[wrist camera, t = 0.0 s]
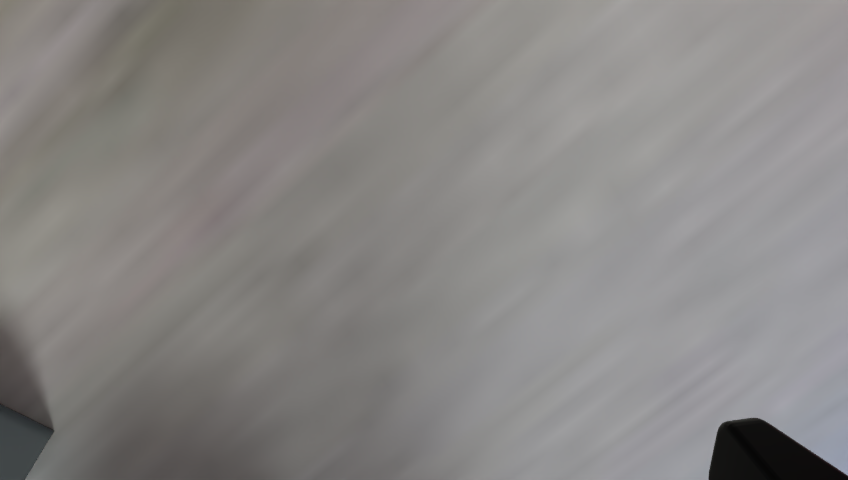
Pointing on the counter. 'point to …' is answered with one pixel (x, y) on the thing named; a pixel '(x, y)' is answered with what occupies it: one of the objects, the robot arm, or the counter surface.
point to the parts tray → (19, 444)
